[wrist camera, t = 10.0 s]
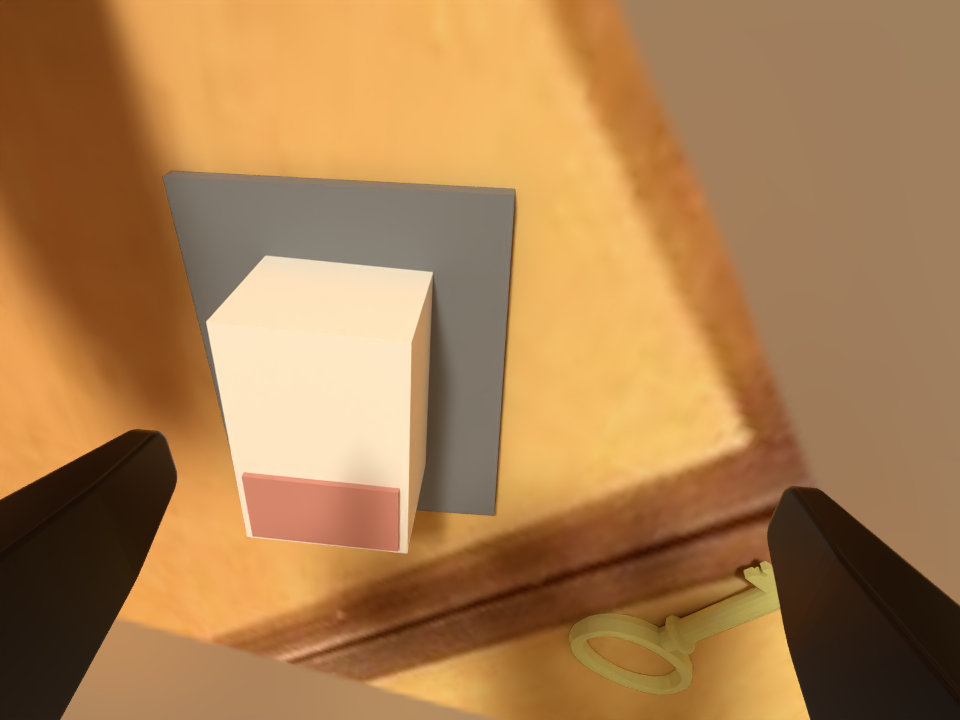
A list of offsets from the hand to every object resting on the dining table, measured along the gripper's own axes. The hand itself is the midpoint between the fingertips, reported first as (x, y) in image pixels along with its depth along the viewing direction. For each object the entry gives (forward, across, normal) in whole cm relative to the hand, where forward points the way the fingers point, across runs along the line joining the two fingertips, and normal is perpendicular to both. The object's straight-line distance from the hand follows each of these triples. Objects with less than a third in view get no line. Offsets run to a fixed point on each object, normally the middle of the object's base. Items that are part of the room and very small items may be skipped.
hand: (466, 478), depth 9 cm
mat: (+12, +5, +7) cm, 15 cm away
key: (+13, -10, +21) cm, 27 cm away
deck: (+12, +5, +7) cm, 15 cm away
